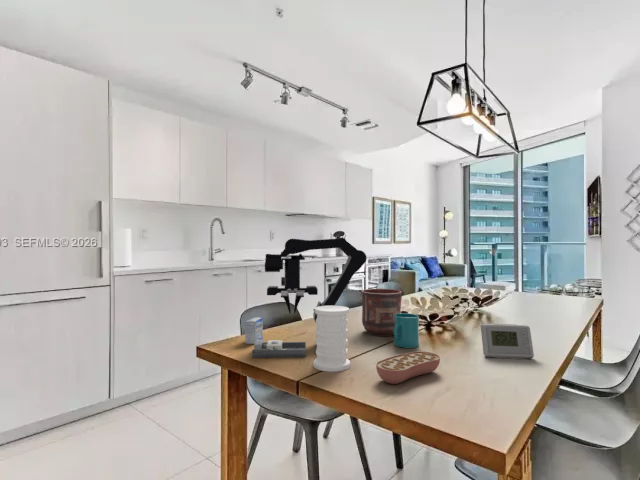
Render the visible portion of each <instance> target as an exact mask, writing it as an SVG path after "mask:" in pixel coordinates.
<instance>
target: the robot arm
mask: <svg viewBox="0 0 640 480" xmlns="http://www.w3.org/2000/svg"><path fill="white" fill-rule="evenodd" d="M329 249H340V250H341V252H343V253H344V255H345V256H347V259H346V262H345V266H344V269H343V270H342V272H341V274H340V275H339V277H338V279H337V280H336V282H335V284H334V285H333V287H332V288H331V290H330V292H329V293H328V295H327V297H326V298H325V300H324V301H322V302H321V301H318V302H317V305H316V306H315V307H319V306H328V305H334V306H336V304H337V302H338V301H339V299H340V297H341V296H342V294H343V293H344V291H345V289H346V288H347V286H348V284H349V282H350V281H351V279H352V278H353V276H354V275H355V273H357V272H358V271H359V270H360V269H361V268H362V266H364V265H365V263H366V262H367V260H368V259H367V254H366V252H364V251H363V250H359V249H357V248H356V247H355V246H353V245H352V244H351V243H350V242H349V241H347V239H346V238H344V237H337V238H327V239H326V238H325V239H313V240H312V239H311V240H308V239H302V238H300V239H299V238H289V239H287V240H286V242H285V243H284V249H283V250H282V251H281V252H280V253H279V254H275V253H274V254H273V253H272V254H271V253H265V258H264V261H265V262H264V272H265V273H280V272H281V270H283V269H284V276H281V277H280V280H281V281H280V283H281V284H280V286H281V287H279V286H278V285H269V286H268V287H267V288H266V296H276V295H277V294H280V298H283V300H284V301H285V303H286V307H287V311H288V313H289V314H291V313H292V312H291V311H292V310H291V303H290V294H292V293H293V294H295V297H294V305H293V306H294V307H293V314H294V315H295V314H296V312H297V308H298V306H299V303H300V301H301V300H302V298H304V297H305V295H304V294H308V295H310V296H313V295H315V296H316V295H319V294H318V287H317V286H316V285H306V287H301V261H305V259H306V258H305V257H304V256H303V254H302V253H304V252H307V251H310V250H313V251H314V250H329ZM295 254H296V255H295ZM297 254H298V255H297ZM289 255H290V257H288V256H289ZM282 257H283V258H282ZM312 311H313V313H312V314H313V315H312V316H313V320H314V322H315V323H316V319H317V314H316V313H315V308H313V310H312Z"/></svg>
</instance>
